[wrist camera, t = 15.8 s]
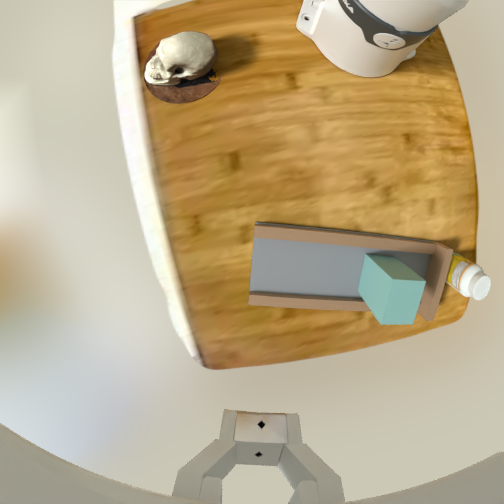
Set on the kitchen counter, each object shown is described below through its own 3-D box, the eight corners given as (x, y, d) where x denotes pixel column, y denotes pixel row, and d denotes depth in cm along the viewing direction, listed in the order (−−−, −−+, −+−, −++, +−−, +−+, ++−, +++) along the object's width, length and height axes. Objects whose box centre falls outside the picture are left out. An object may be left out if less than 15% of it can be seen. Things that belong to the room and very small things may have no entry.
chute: (255, 222, 39) (254, 228, 35) (438, 242, 39) (453, 249, 35) (248, 300, 43) (247, 315, 39) (421, 308, 43) (433, 320, 38)
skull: (145, 117, 34) (117, 59, 25) (159, 82, 39) (140, 32, 30) (229, 101, 33) (214, 33, 24) (231, 67, 38) (219, 12, 29)
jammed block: (365, 253, 40) (392, 279, 30) (394, 256, 40) (426, 281, 30) (357, 291, 41) (380, 324, 32) (385, 292, 41) (412, 324, 32)
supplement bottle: (433, 268, 40) (465, 291, 31) (452, 245, 39) (487, 263, 30) (446, 286, 41) (476, 311, 32) (464, 265, 40) (497, 285, 31)
